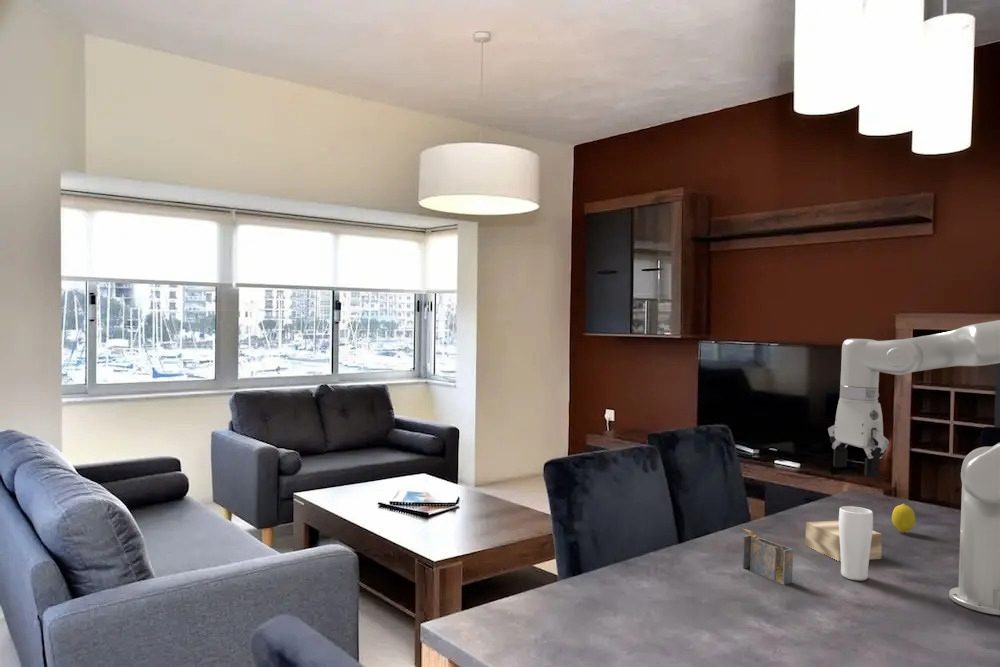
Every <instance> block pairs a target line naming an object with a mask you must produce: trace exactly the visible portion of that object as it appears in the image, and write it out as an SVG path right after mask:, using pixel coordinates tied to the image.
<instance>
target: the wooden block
mask: <svg viewBox="0 0 1000 667" xmlns="http://www.w3.org/2000/svg"><path fill="white" fill-rule="evenodd" d="M804 543H805V544H804V545H806V547H807V546H808V547H807V548H809V547H810V549H811V548H812V549H811V550H813V549H814V551H815V550H816V552H818V553H820V554H822V555H824V554H825V555H824V556H826V555H827V556H826V557H828V556H829V557H828V558H830V557H831V559H832V558H833V560H834V559H835V561H836V560H837V562H841V556H840V540H839V520H827V521H826V520H825V521H823V520H822V521H819V520H818V521H806V522H805V542H804ZM882 545H883V533H881V532H878V531H875V530H873V533H872V541H871V549H870V557H869V560H881V559H882V549H883V548H882V547H883V546H882Z"/></svg>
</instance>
